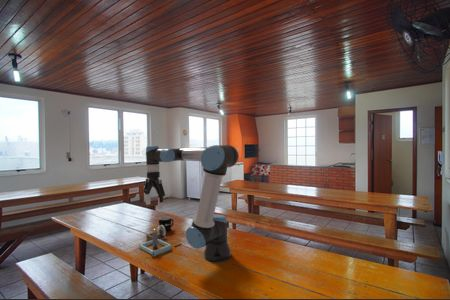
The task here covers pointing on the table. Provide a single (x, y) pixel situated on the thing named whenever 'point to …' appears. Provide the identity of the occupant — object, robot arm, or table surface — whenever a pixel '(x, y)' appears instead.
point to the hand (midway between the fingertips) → (154, 206)
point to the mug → (166, 222)
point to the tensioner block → (161, 233)
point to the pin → (155, 238)
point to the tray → (158, 251)
